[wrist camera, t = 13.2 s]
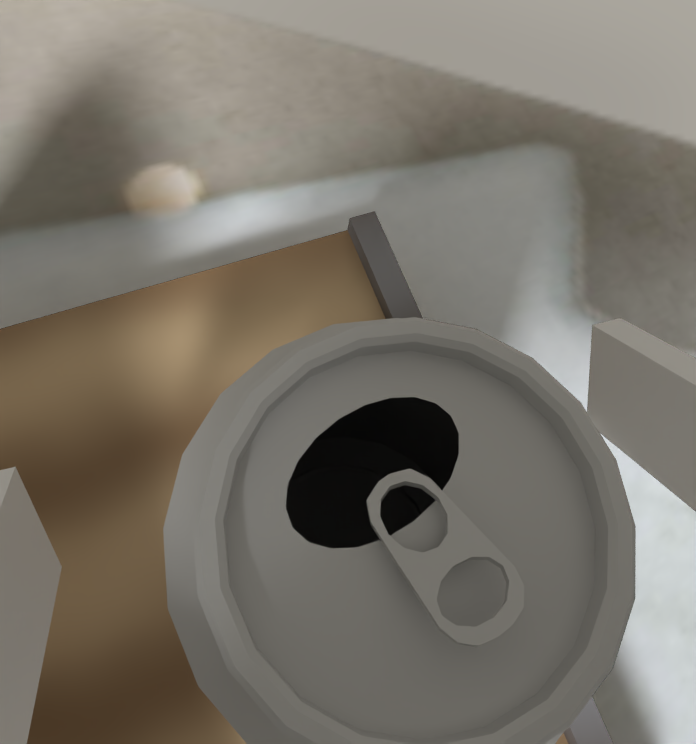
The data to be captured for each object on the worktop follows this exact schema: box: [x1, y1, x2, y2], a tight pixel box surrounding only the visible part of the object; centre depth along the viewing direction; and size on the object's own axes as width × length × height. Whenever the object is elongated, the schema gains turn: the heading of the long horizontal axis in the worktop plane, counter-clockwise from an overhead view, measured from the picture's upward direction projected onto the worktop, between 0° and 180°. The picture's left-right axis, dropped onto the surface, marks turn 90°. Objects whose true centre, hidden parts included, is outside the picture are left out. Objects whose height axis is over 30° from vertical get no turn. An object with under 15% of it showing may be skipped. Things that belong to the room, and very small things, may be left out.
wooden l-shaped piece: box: [0, 211, 613, 744], centre depth 15 cm, size 24×20×14 cm
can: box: [163, 317, 635, 744], centre depth 14 cm, size 8×8×12 cm
